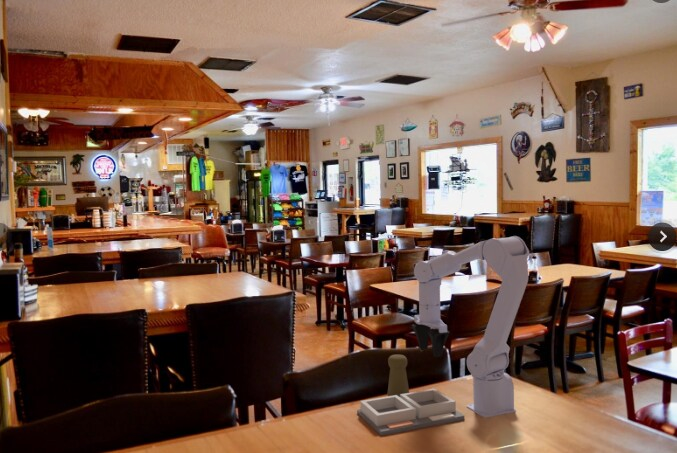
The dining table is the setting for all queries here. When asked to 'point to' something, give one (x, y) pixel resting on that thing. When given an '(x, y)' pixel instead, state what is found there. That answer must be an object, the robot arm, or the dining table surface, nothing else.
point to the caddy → (409, 411)
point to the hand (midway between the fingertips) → (430, 352)
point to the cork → (397, 375)
